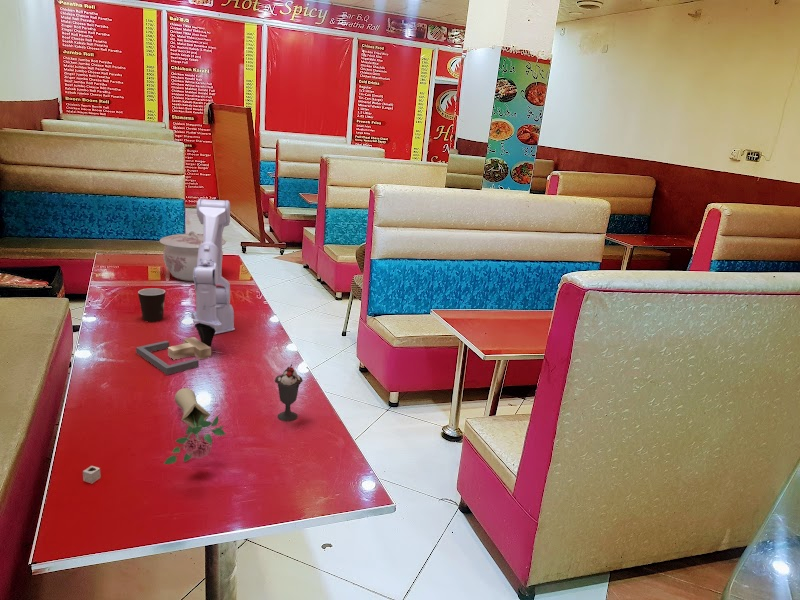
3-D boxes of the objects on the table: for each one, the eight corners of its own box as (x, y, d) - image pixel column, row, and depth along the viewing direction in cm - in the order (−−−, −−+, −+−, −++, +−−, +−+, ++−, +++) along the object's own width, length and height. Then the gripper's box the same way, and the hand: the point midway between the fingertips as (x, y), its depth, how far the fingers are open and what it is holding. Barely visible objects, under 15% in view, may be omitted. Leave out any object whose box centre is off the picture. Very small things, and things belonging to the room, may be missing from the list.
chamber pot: (214, 288, 239) (214, 240, 233) (149, 282, 238) (147, 234, 232) (234, 272, 266) (234, 228, 260) (175, 267, 265) (174, 223, 259)
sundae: (288, 426, 137) (290, 369, 133) (268, 417, 140) (269, 361, 136) (306, 416, 142) (309, 360, 138) (286, 407, 146) (288, 353, 141)
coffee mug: (156, 324, 193) (155, 296, 190) (134, 321, 195) (132, 293, 192) (176, 314, 204) (175, 288, 201) (154, 311, 206) (153, 284, 203)
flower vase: (200, 434, 144) (227, 484, 113) (149, 427, 138) (163, 478, 107) (213, 389, 145) (242, 426, 114) (162, 380, 139) (179, 417, 108)
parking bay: (167, 346, 176) (166, 340, 176) (198, 366, 165) (198, 360, 164) (136, 353, 170) (136, 347, 169) (166, 375, 158) (166, 368, 157)
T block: (194, 345, 179) (193, 336, 178) (211, 357, 172) (211, 347, 171) (162, 352, 172) (162, 343, 171) (179, 364, 165) (178, 355, 164)
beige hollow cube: (92, 475, 113) (91, 464, 112) (100, 478, 112) (100, 466, 112) (83, 481, 111) (82, 470, 110) (92, 484, 110) (91, 472, 110)
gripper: (181, 300, 174) (182, 341, 177) (206, 313, 165) (207, 356, 168) (202, 296, 179) (203, 337, 183) (228, 308, 170) (228, 350, 174)
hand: (206, 346), depth 176 cm, fingers closed
